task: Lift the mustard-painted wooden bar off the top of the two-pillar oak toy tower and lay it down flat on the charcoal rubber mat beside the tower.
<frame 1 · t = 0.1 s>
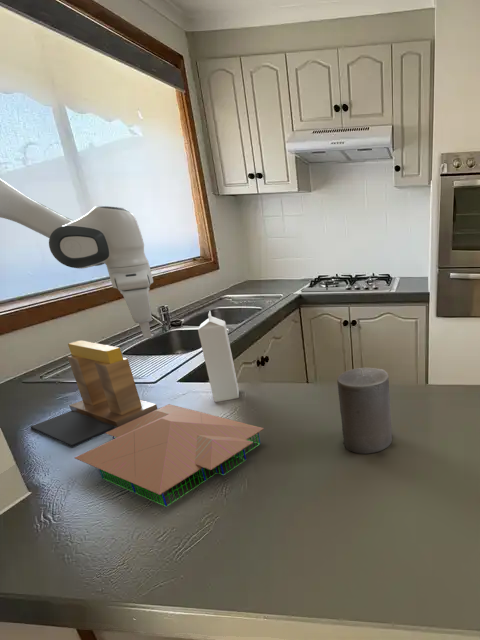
hand: (146, 333, 106), 17 cm above the table, tool pointing down, fingers open, 8 cm apart
tower: (113, 410, 106), on the table
house: (173, 457, 83), on the table
bar: (96, 357, 101), point 14 cm above the table, touching tower
sphere: (111, 380, 128), on the table
mat: (72, 428, 98), on the table
pillar candle: (368, 441, 83), on the table
milk: (227, 396, 109), on the table
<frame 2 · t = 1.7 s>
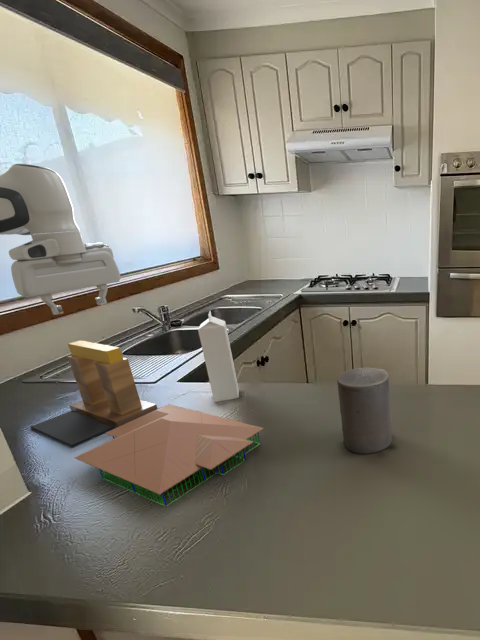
hand: (81, 309, 97), 26 cm above the table, tool pointing down, fingers open, 8 cm apart
nothing on the table moved.
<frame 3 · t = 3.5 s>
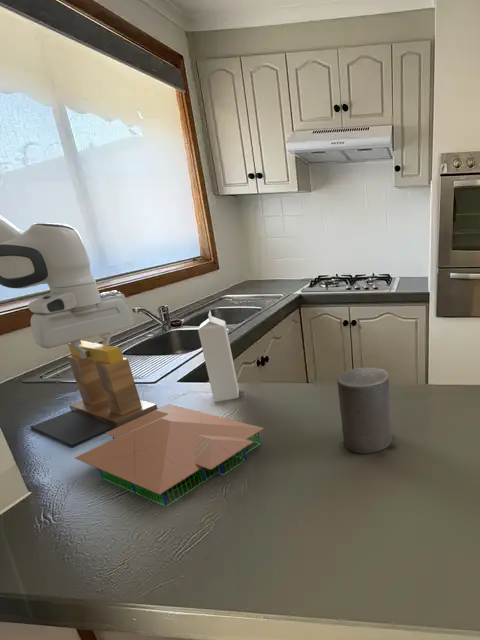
hand: (95, 355, 101), 15 cm above the table, tool pointing down, fingers closed on bar, 3 cm apart
bar: (96, 357, 101), point 14 cm above the table, touching gripper, tower
everything else where it was.
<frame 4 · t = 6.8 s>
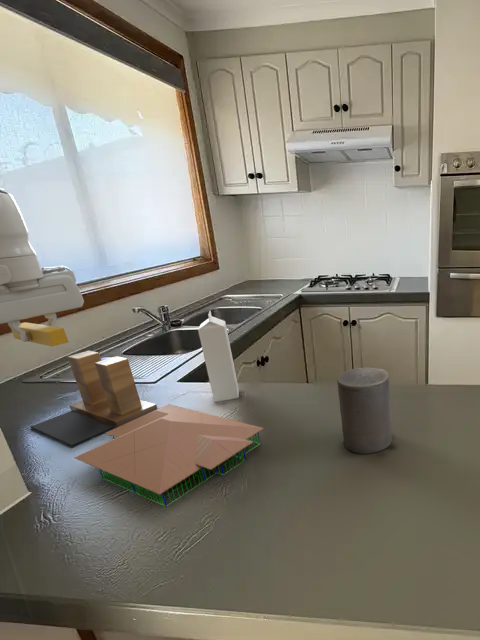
hand: (39, 337, 90), 22 cm above the table, tool pointing down, fingers closed on bar, 3 cm apart
bar: (40, 340, 90), point 21 cm above the table, touching gripper
everything else where it was.
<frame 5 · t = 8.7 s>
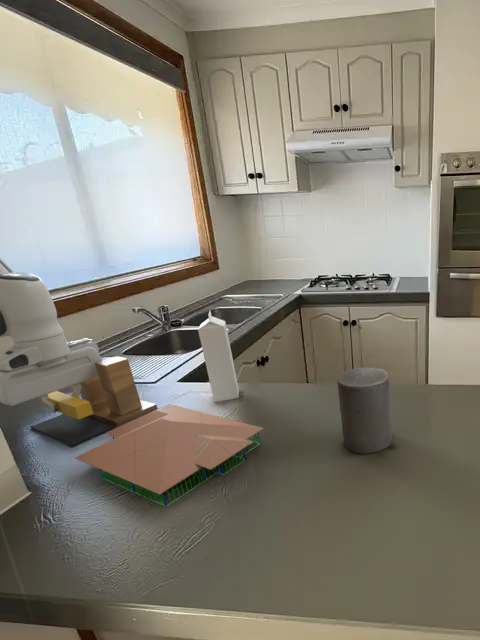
hand: (65, 407, 96), 5 cm above the table, tool pointing down, fingers closed on bar, 3 cm apart
bar: (66, 409, 96), point 5 cm above the table, touching gripper
everything else where it was.
when the fingers open (1 cm above the table, at t = 10.2 s): bar stays where it is, resting on mat.
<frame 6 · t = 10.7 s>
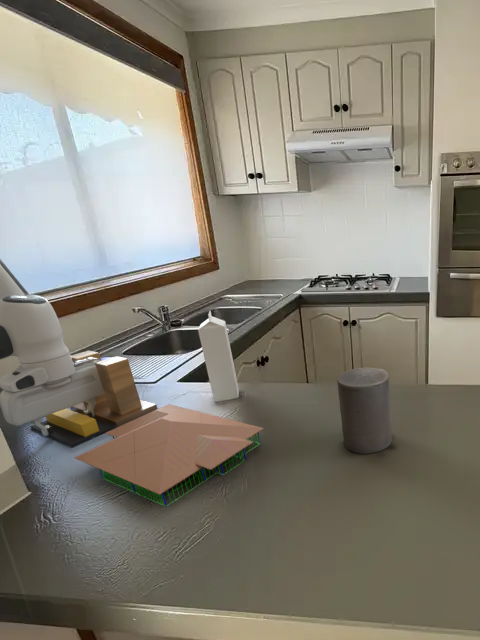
hand: (70, 425, 97), 1 cm above the table, tool pointing down, fingers open, 7 cm apart
bar: (72, 426, 97), point 1 cm above the table, touching mat
everything else where it was.
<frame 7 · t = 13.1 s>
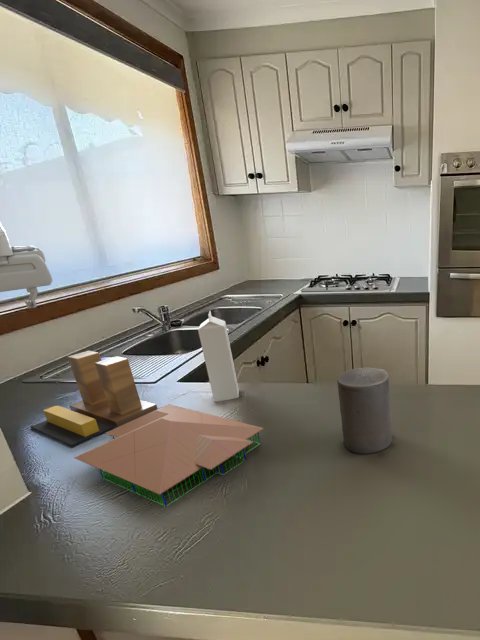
hand: (7, 312, 96), 26 cm above the table, tool pointing down, fingers open, 8 cm apart
nothing on the table moved.
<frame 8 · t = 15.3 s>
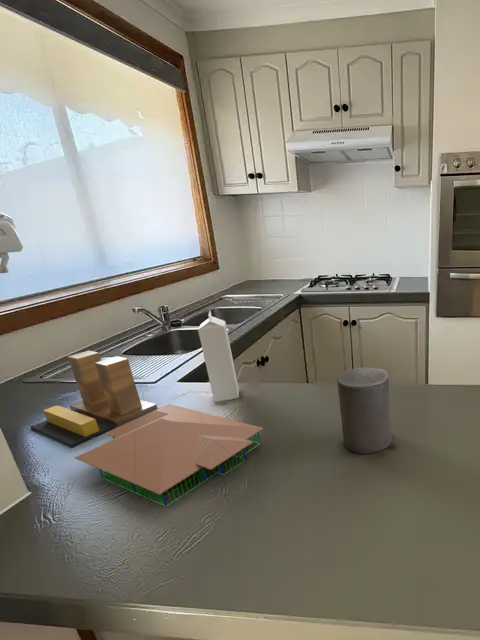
nothing on the table moved.
at the end: bar inside the target area on the mat (0.2 cm from its centre), point 0.6 cm above the mat's base; bar touching mat; the gripper is holding nothing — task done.
